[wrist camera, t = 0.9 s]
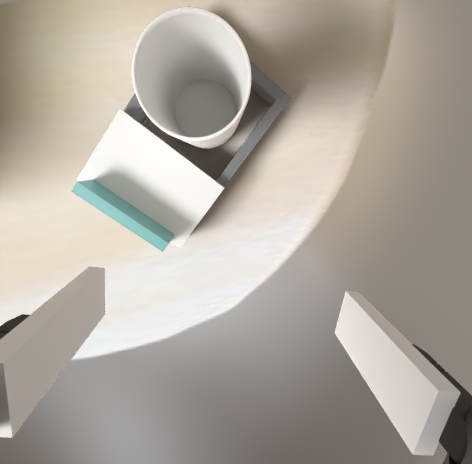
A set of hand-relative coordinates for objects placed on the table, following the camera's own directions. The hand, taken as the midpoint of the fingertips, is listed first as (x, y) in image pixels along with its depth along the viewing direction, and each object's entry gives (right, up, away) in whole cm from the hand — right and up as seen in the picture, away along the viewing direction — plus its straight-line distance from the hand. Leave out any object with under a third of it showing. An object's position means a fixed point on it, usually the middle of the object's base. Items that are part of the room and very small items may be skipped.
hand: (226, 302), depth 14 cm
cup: (-3, +19, +19) cm, 27 cm away
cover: (-9, +10, +17) cm, 22 cm away
